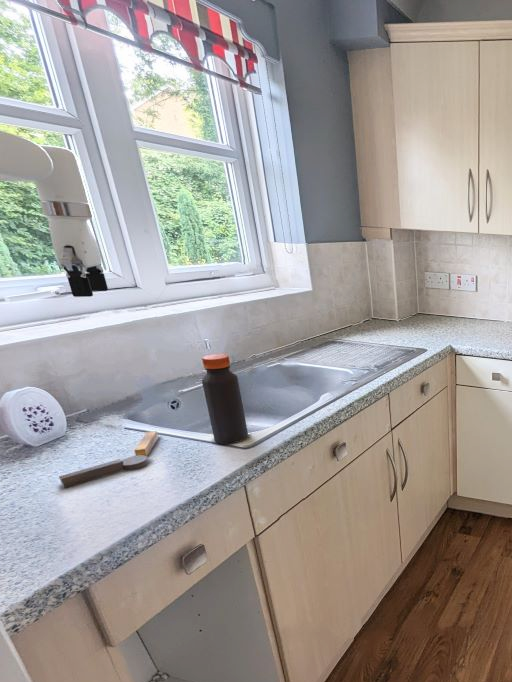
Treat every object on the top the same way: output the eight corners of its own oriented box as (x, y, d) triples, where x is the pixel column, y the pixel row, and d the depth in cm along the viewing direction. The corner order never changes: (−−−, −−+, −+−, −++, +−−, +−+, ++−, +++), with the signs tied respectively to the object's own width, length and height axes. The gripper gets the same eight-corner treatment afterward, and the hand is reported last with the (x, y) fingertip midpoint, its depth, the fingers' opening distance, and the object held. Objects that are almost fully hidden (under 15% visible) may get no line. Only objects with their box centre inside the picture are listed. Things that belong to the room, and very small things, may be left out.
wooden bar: (147, 456, 97) (145, 448, 97) (136, 457, 96) (134, 450, 96) (158, 437, 106) (156, 430, 105) (148, 439, 105) (146, 432, 104)
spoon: (67, 490, 84) (63, 481, 83) (59, 483, 86) (56, 473, 85) (152, 464, 94) (149, 455, 93) (143, 458, 96) (141, 449, 96)
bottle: (237, 430, 111) (222, 351, 104) (254, 436, 108) (240, 356, 102) (208, 440, 106) (190, 357, 99) (225, 447, 103) (208, 362, 96)
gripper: (61, 211, 102) (84, 289, 108) (24, 209, 87) (52, 299, 93) (105, 213, 105) (124, 288, 111) (75, 212, 91) (99, 298, 97)
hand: (91, 293), depth 102 cm, fingers open, 9 cm apart
